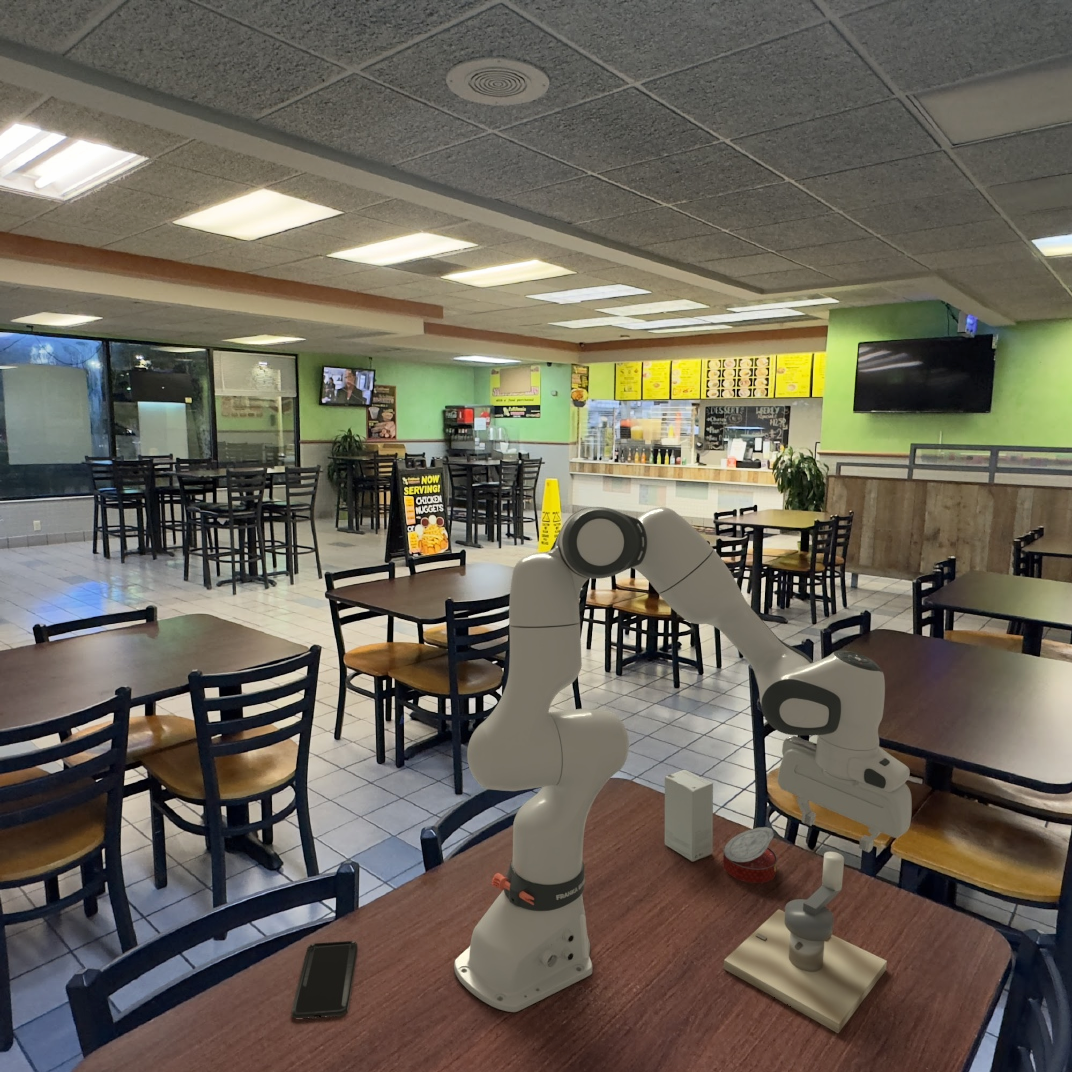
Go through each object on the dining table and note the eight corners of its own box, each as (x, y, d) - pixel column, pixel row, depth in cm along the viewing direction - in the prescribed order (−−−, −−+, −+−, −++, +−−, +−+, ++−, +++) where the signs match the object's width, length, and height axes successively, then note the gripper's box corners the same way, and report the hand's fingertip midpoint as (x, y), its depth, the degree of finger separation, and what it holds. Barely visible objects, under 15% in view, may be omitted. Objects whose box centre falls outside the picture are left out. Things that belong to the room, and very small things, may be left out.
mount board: (838, 1033, 106) (841, 988, 105) (723, 968, 118) (726, 927, 117) (886, 969, 119) (889, 928, 118) (778, 917, 131) (780, 879, 130)
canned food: (759, 907, 142) (753, 875, 137) (715, 877, 149) (707, 846, 144) (793, 863, 147) (787, 830, 142) (748, 836, 154) (741, 804, 149)
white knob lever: (776, 925, 118) (779, 876, 116) (813, 890, 127) (817, 844, 126) (820, 947, 113) (824, 896, 112) (855, 909, 122) (859, 862, 121)
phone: (358, 940, 122) (347, 1010, 108) (358, 947, 123) (347, 1017, 108) (307, 943, 121) (289, 1015, 107) (307, 950, 122) (289, 1022, 107)
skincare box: (713, 854, 150) (716, 783, 148) (691, 863, 147) (694, 791, 145) (682, 835, 157) (686, 767, 155) (661, 843, 154) (664, 774, 152)
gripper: (774, 737, 124) (766, 815, 126) (904, 787, 109) (892, 873, 112) (793, 727, 128) (785, 802, 131) (921, 773, 114) (909, 857, 116)
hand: (836, 835), depth 121 cm, fingers open, 8 cm apart
